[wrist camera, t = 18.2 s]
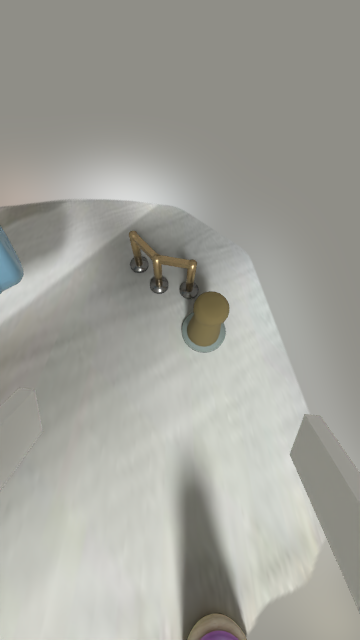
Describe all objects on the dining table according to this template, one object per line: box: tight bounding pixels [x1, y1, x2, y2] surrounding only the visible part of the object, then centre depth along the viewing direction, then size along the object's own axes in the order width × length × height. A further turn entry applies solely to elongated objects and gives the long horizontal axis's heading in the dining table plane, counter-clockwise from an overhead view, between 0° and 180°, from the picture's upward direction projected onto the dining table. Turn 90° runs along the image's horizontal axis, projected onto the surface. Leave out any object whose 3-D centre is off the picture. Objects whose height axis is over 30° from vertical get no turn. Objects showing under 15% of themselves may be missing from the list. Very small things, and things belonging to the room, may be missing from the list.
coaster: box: [182, 312, 226, 352], centre depth 43 cm, size 8×8×1 cm
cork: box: [187, 291, 229, 347], centre depth 37 cm, size 6×6×11 cm
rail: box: [129, 231, 198, 299], centre depth 43 cm, size 15×8×9 cm, turn 80°
